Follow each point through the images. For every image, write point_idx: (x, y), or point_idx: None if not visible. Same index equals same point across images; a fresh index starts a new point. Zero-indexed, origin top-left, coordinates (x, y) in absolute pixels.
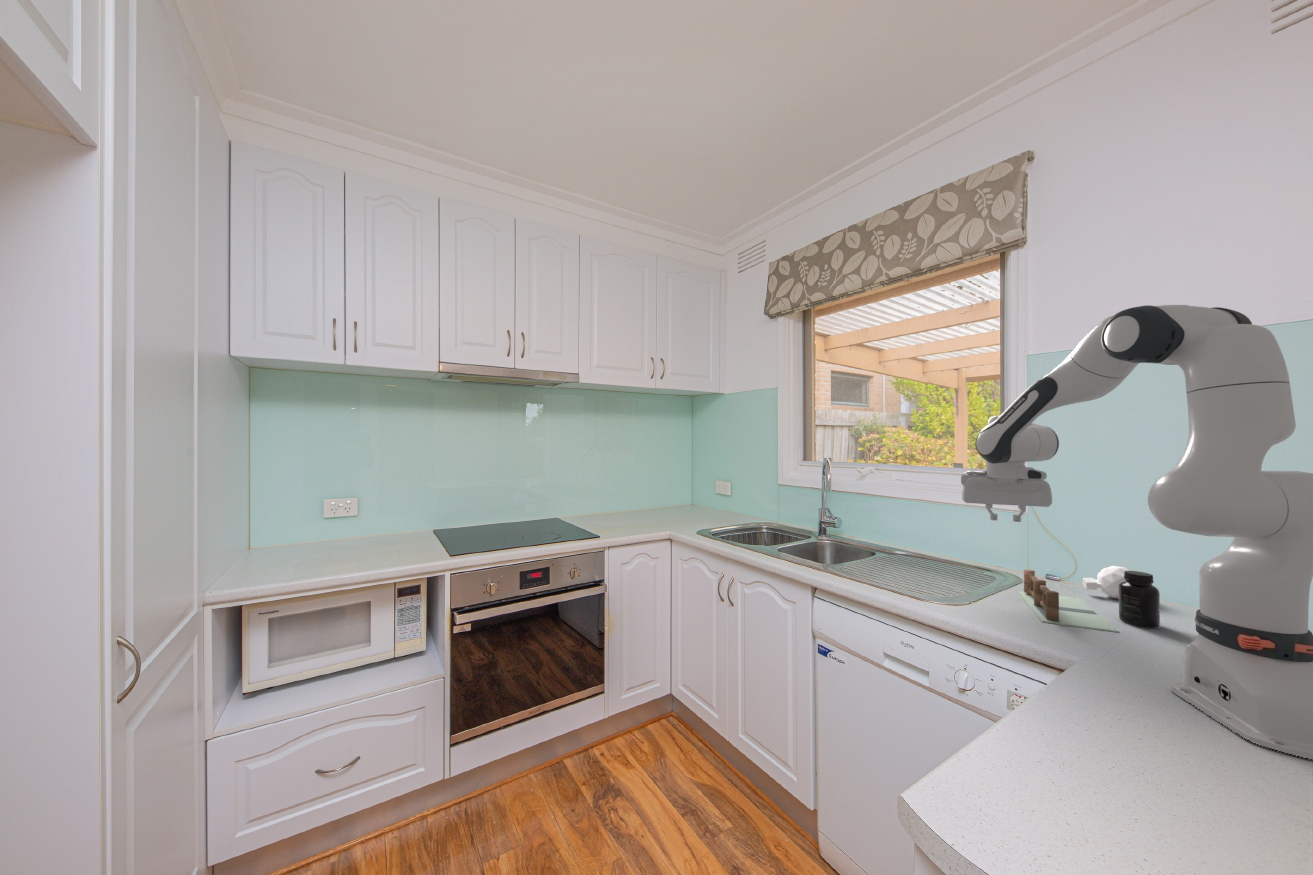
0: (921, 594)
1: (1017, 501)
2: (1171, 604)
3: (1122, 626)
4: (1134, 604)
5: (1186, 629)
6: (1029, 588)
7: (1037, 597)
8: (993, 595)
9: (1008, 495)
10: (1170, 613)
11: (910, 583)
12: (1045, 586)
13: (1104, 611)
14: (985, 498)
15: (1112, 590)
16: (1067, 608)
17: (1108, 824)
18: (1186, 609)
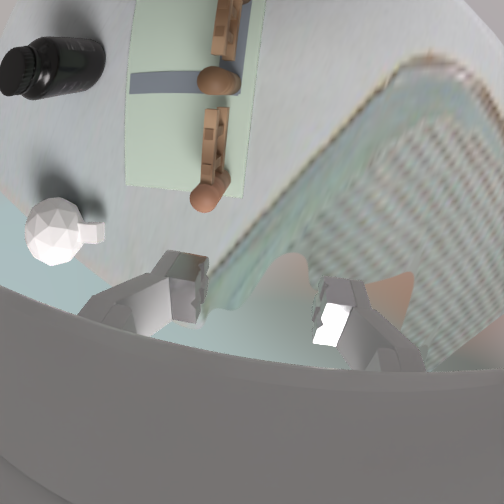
0: (474, 129)
1: (110, 363)
2: (28, 208)
3: (117, 28)
4: (71, 38)
5: None
6: (220, 168)
7: (233, 73)
8: (313, 151)
9: (197, 475)
10: (35, 155)
11: (467, 211)
12: (212, 45)
13: (110, 112)
14: (474, 418)
15: (69, 204)
16: (173, 86)
17: None
18: (20, 189)
